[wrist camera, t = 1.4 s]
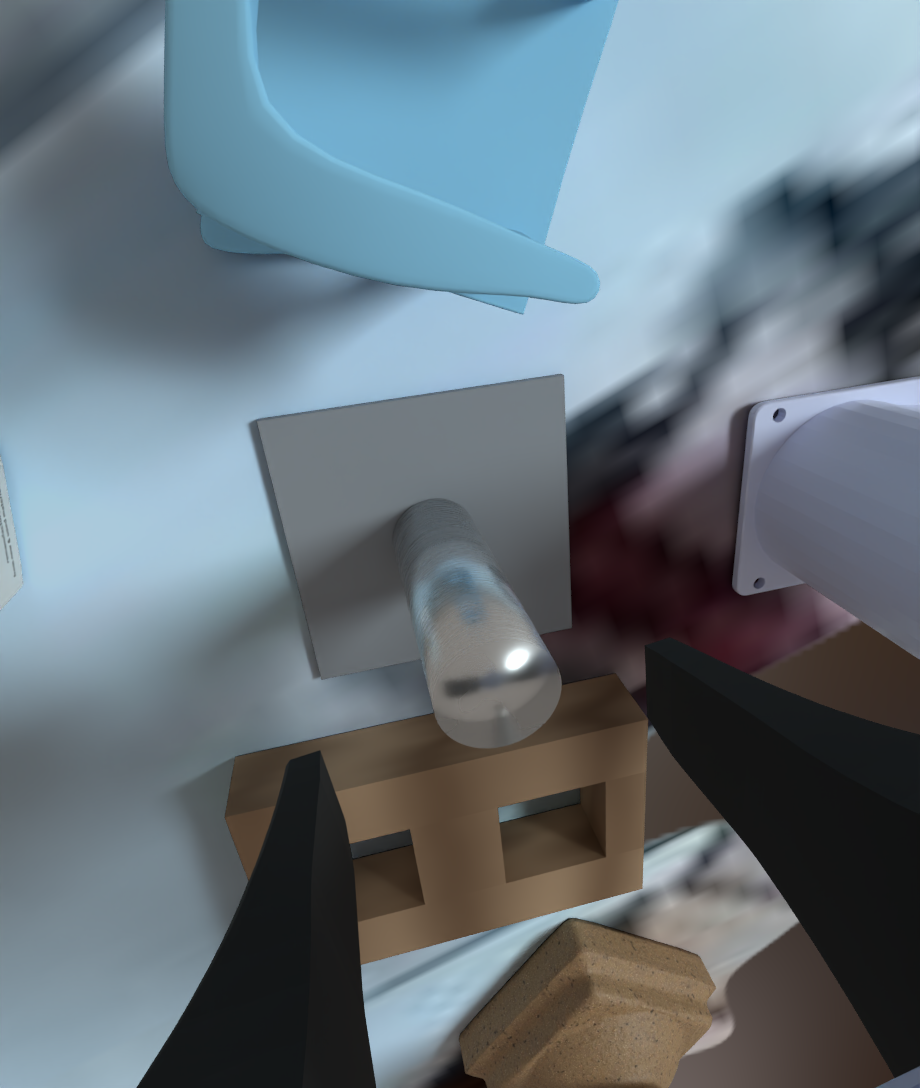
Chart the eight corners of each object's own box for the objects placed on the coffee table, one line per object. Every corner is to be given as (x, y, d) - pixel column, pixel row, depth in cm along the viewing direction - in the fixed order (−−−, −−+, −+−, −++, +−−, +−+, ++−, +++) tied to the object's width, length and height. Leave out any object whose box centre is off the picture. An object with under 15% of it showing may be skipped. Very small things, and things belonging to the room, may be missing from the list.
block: (615, 673, 27) (647, 719, 24) (614, 834, 31) (642, 888, 28) (235, 756, 25) (224, 817, 22) (291, 917, 29) (288, 984, 26)
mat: (560, 374, 21) (564, 375, 21) (569, 623, 25) (571, 627, 25) (257, 418, 20) (256, 421, 19) (321, 675, 24) (321, 679, 24)
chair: (478, 326, 20) (668, 406, 9) (202, 244, 17) (23, 222, 7) (558, 41, 17) (957, -312, 7) (244, -104, 15) (59, -1058, 4)
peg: (471, 491, 22) (559, 628, 14) (479, 567, 23) (563, 732, 15) (385, 506, 21) (425, 656, 13) (399, 582, 23) (441, 760, 15)
